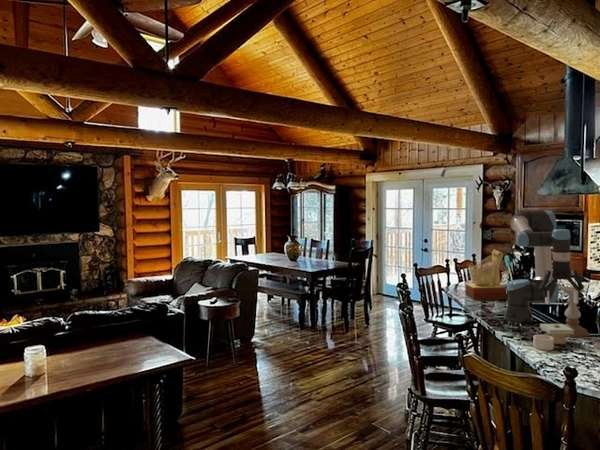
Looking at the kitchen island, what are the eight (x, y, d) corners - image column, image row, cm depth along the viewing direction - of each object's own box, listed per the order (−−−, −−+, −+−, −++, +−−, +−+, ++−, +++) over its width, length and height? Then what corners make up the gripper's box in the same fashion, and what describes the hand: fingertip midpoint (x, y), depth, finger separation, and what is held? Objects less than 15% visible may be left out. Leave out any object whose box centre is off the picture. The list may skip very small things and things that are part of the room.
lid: (539, 327, 227) (539, 322, 227) (562, 327, 226) (562, 322, 226) (549, 334, 216) (549, 328, 216) (573, 334, 215) (573, 328, 215)
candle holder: (555, 331, 238) (555, 287, 237) (575, 330, 239) (575, 286, 238) (570, 337, 227) (569, 291, 226) (590, 336, 228) (590, 290, 227)
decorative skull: (483, 289, 353) (482, 264, 352) (475, 283, 378) (475, 260, 378) (506, 290, 350) (506, 264, 349) (497, 283, 376) (497, 260, 375)
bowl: (530, 344, 218) (530, 334, 218) (548, 344, 217) (548, 334, 217) (538, 350, 210) (538, 339, 210) (556, 350, 209) (556, 339, 209)
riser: (547, 339, 225) (547, 329, 225) (559, 339, 224) (559, 329, 224) (552, 343, 219) (552, 332, 219) (565, 343, 218) (565, 332, 218)
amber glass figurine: (498, 294, 335) (498, 248, 333) (509, 299, 317) (509, 250, 315) (465, 295, 335) (464, 249, 334) (474, 300, 317) (473, 251, 316)
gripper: (538, 262, 216) (538, 305, 217) (592, 261, 214) (592, 304, 215) (531, 260, 223) (531, 302, 224) (583, 259, 221) (583, 301, 222)
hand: (561, 303), depth 220 cm, fingers open, 13 cm apart
